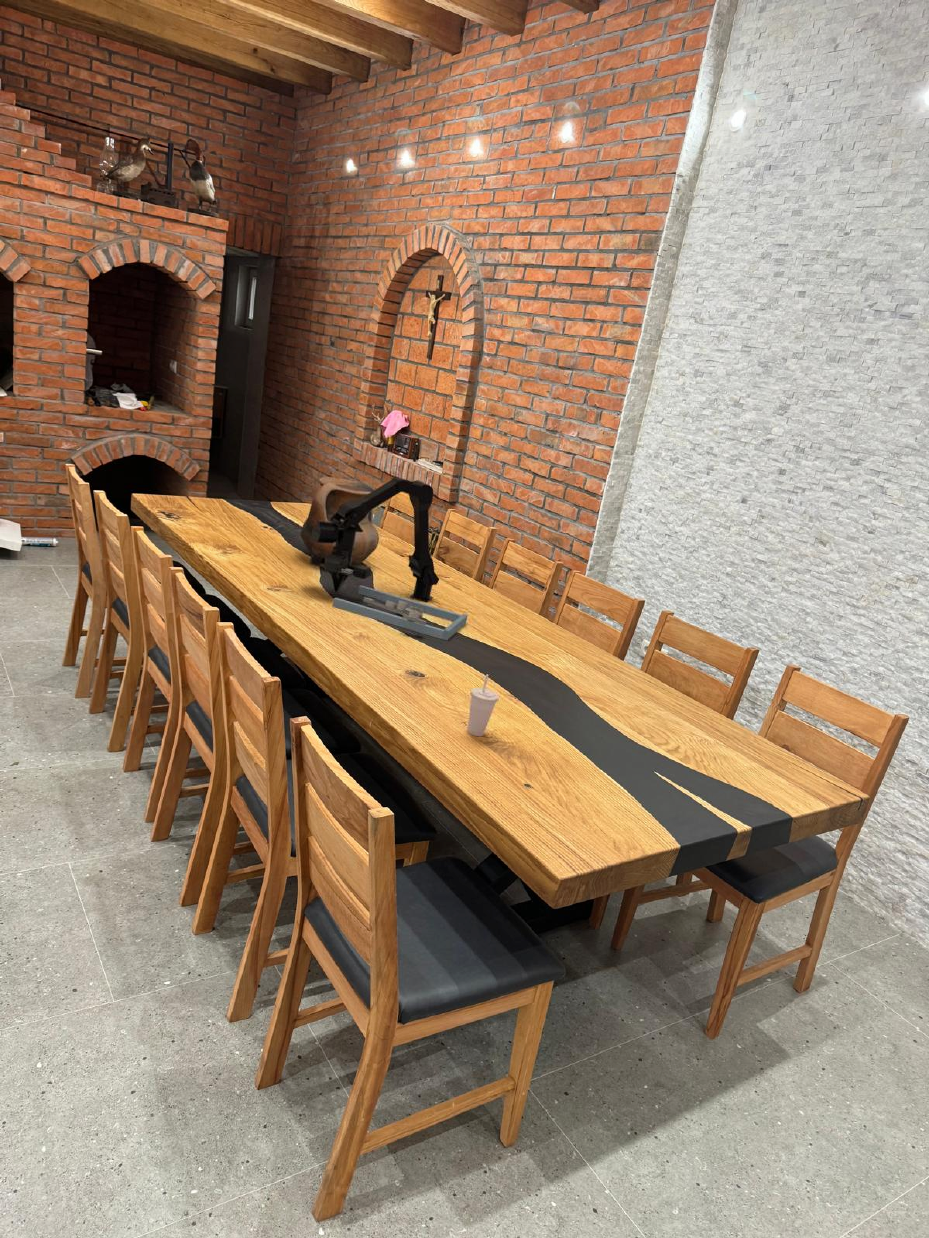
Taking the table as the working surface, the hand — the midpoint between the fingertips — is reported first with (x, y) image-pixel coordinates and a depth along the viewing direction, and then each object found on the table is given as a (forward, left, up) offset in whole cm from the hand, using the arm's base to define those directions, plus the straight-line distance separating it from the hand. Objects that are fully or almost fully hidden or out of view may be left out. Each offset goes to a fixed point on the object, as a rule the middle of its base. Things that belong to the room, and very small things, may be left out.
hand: (336, 591), depth 258 cm
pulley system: (+6, +24, 0) cm, 25 cm away
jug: (-35, -16, -2) cm, 39 cm away
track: (0, +22, -1) cm, 22 cm away
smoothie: (+65, +65, -2) cm, 92 cm away
